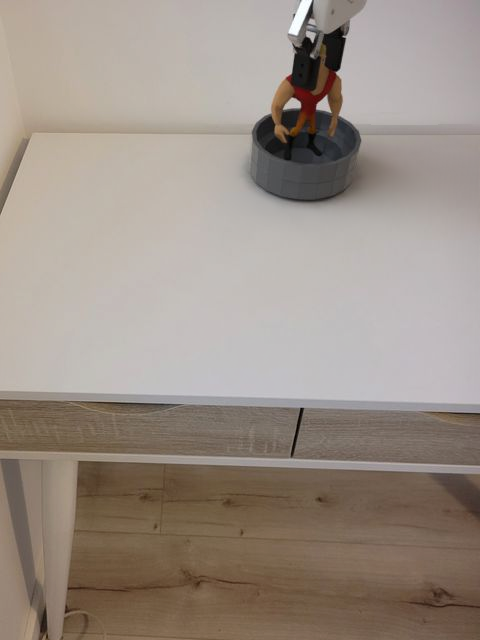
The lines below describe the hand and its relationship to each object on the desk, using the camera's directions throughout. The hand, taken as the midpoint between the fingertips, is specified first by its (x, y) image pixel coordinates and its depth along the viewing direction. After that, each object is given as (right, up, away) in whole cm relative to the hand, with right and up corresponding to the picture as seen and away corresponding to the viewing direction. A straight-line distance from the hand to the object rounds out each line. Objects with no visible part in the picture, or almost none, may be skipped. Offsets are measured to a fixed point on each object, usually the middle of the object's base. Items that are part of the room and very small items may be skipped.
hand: (315, 76), depth 74 cm
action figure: (0, -7, +8) cm, 11 cm away
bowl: (0, -9, +10) cm, 13 cm away
